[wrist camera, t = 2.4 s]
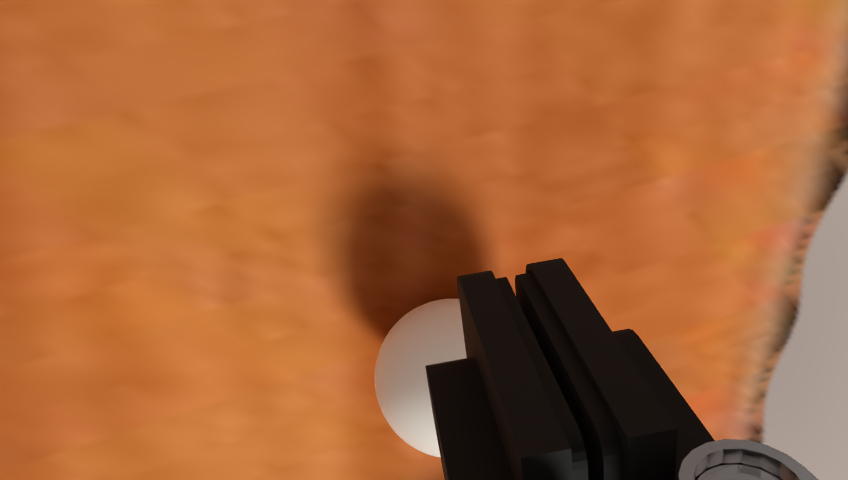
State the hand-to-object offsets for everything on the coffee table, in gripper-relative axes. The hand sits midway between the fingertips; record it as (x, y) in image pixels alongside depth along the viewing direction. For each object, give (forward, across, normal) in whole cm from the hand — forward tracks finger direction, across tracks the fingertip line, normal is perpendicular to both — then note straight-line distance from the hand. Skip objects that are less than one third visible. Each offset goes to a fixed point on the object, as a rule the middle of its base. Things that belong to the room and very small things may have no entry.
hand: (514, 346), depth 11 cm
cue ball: (+10, 0, +8) cm, 13 cm away
